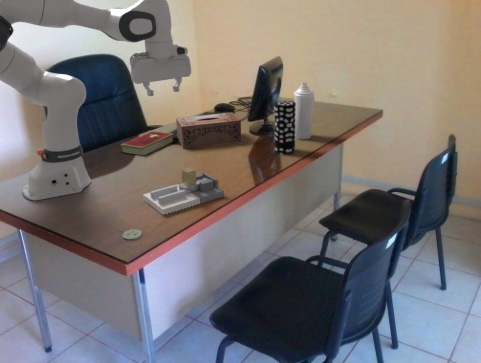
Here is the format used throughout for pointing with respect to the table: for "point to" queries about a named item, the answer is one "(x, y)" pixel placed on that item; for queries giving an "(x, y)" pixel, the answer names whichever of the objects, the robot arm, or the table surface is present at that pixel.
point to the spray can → (303, 111)
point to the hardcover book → (147, 143)
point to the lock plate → (183, 195)
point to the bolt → (190, 180)
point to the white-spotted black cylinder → (285, 127)
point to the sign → (130, 233)
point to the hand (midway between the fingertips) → (163, 93)
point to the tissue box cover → (208, 130)
